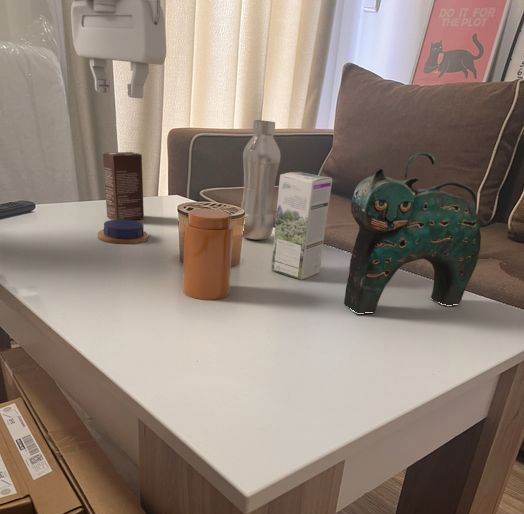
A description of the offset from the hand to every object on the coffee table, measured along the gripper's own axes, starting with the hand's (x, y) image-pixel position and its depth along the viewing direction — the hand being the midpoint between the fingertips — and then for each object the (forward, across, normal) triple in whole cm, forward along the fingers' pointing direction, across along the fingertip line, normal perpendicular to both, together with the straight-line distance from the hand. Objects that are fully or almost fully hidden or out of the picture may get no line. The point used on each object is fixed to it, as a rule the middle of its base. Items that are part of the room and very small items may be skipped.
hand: (118, 95), depth 80 cm
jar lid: (+20, 0, 0) cm, 20 cm away
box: (+22, +11, -8) cm, 26 cm away
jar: (+22, -28, +4) cm, 36 cm away
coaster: (+22, 0, 0) cm, 22 cm away
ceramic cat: (+22, -46, -16) cm, 53 cm away
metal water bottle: (+22, -11, -21) cm, 32 cm away
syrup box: (+22, -29, -13) cm, 38 cm away
